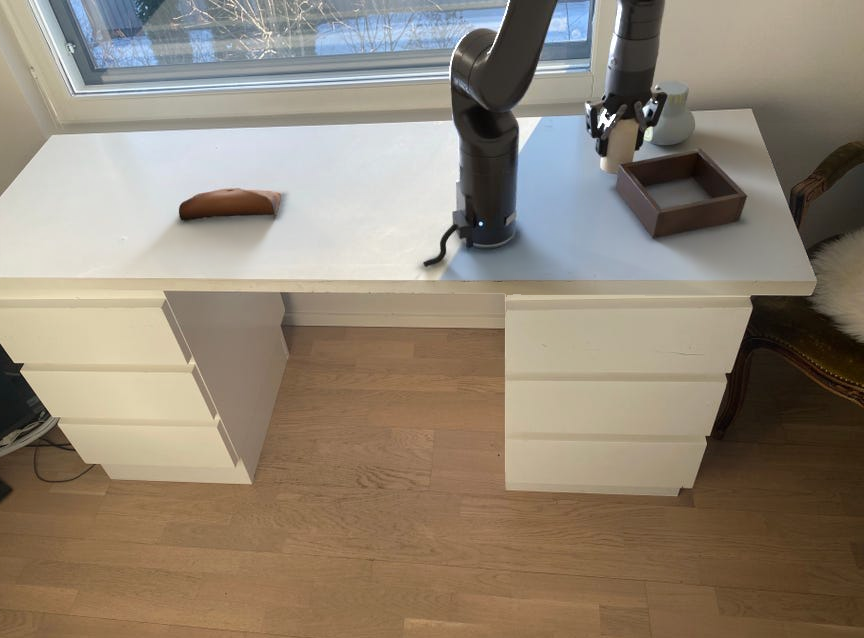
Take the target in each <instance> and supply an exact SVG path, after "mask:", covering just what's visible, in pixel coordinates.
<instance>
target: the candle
mask: <svg viewBox="0 0 864 638" xmlns="http://www.w3.org/2000/svg"><path fill="white" fill-rule="evenodd" d="M610 119H611V116H610ZM638 128H639V124H638V122H637V120H636V119H635V118H631V119H627V118H626V119H624V120H622V119H621V120H620V121H618V123H617V125H616V126H615V128H613V129H612V130H611V132H610V134H609V136H608V137H607V138H608V146H607V153H606V157H603V158H601V157H600V169H601V170H602V171H603V172H605V173H607V174H611V175H618V169H619V165H620V164H625V163H631V162H634V157H635V152H636V151H635V145H636V139H637V134H638Z"/></svg>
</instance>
